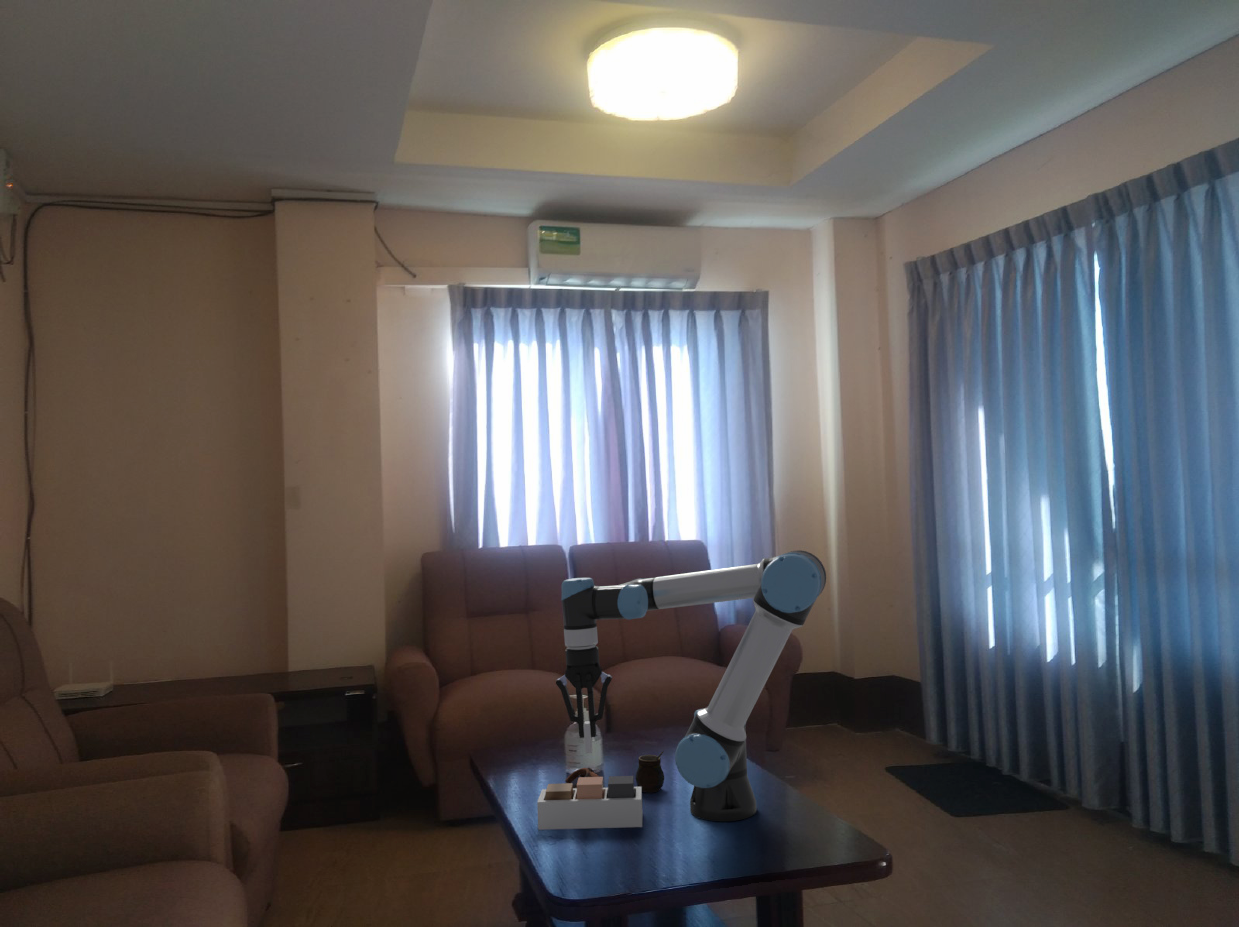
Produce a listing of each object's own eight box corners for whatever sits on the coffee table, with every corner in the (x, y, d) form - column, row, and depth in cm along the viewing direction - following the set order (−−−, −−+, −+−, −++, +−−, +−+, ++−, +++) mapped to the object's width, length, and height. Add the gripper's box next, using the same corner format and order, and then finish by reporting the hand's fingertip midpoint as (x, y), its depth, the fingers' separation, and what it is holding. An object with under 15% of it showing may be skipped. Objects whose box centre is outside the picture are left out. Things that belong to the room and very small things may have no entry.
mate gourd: (640, 784, 231) (639, 744, 231) (669, 787, 228) (668, 746, 229) (631, 793, 224) (630, 752, 224) (661, 796, 222) (660, 754, 222)
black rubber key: (634, 797, 208) (633, 775, 208) (633, 806, 203) (633, 783, 203) (609, 798, 208) (609, 776, 209) (608, 806, 203) (607, 784, 203)
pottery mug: (608, 806, 217) (591, 779, 215) (574, 823, 218) (557, 796, 217) (611, 778, 228) (594, 752, 227) (579, 794, 230) (562, 768, 228)
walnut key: (573, 805, 209) (572, 783, 209) (571, 813, 203) (570, 791, 203) (549, 806, 209) (548, 783, 209) (546, 814, 203) (545, 791, 203)
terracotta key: (603, 798, 208) (602, 776, 209) (602, 807, 203) (601, 784, 203) (579, 799, 209) (578, 777, 209) (577, 807, 203) (576, 785, 203)
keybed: (642, 812, 210) (641, 786, 210) (642, 826, 201) (641, 799, 201) (542, 815, 210) (542, 789, 211) (538, 829, 201) (537, 802, 202)
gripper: (610, 642, 211) (618, 745, 210) (554, 646, 211) (561, 749, 210) (609, 647, 203) (617, 754, 202) (551, 651, 204) (558, 758, 202)
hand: (588, 751), depth 206 cm, fingers closed
